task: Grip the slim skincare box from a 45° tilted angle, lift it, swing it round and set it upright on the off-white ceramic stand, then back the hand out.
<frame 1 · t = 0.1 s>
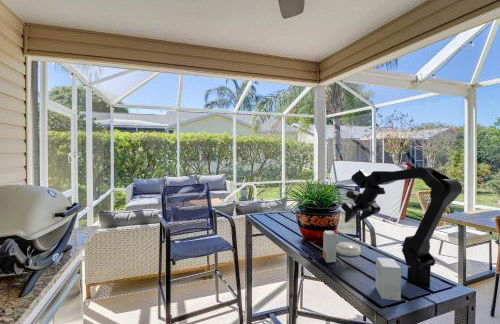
hand: (352, 221, 123), 15 cm above the table, tool tilted 35°, fingers open, 9 cm apart
ceramic stand: (347, 251, 125), on the table
small box: (387, 294, 88), on the table
skincare box: (329, 260, 115), on the table
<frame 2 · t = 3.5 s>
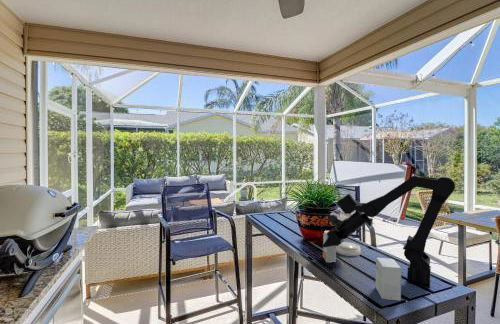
hand: (326, 244, 116), 7 cm above the table, tool tilted 45°, fingers closed on skincare box, 7 cm apart
skincare box: (329, 260, 115), on the table, touching gripper
everything else where it was.
when the fingers open (11 cm above the table, at t = 8.3 s): skincare box drops 1 cm, resting on ceramic stand.
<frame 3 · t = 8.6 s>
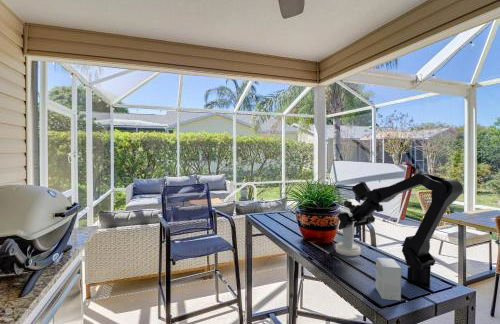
hand: (346, 227, 126), 11 cm above the table, tool tilted 45°, fingers open, 9 cm apart
skincare box: (347, 246, 125), point 3 cm above the table, touching ceramic stand
everything else where it was.
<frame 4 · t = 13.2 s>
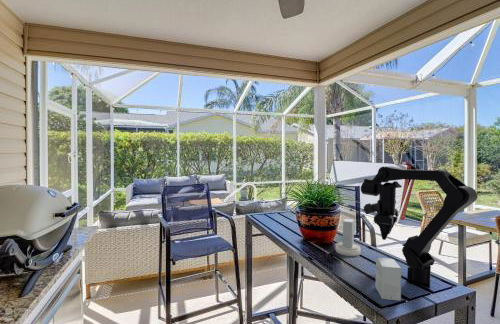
hand: (385, 236, 106), 13 cm above the table, tool pointing down, fingers open, 9 cm apart
nothing on the table moved.
at the end: skincare box 0.3 cm off-centre on the ceramic stand, point 2.8 cm above the ceramic stand's base; skincare box tilted 0°; the gripper is holding nothing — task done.
